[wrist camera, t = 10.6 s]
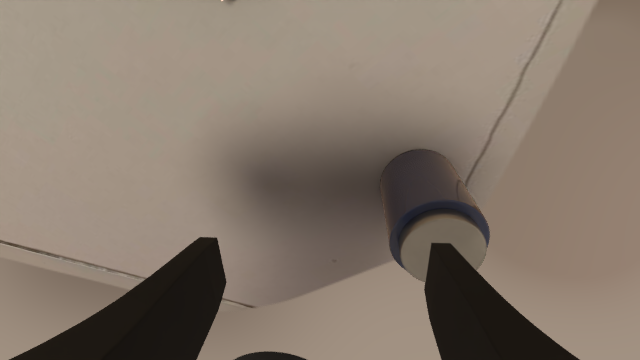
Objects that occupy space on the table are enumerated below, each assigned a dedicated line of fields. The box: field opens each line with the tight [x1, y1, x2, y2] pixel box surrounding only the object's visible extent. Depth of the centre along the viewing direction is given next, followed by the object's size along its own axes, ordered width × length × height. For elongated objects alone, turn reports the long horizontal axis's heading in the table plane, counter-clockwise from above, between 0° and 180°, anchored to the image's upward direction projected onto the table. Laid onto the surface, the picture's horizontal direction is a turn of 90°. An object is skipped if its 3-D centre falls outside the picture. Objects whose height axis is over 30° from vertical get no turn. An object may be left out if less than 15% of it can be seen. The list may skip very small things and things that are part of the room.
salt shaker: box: [380, 150, 490, 282], centre depth 18 cm, size 4×4×6 cm
